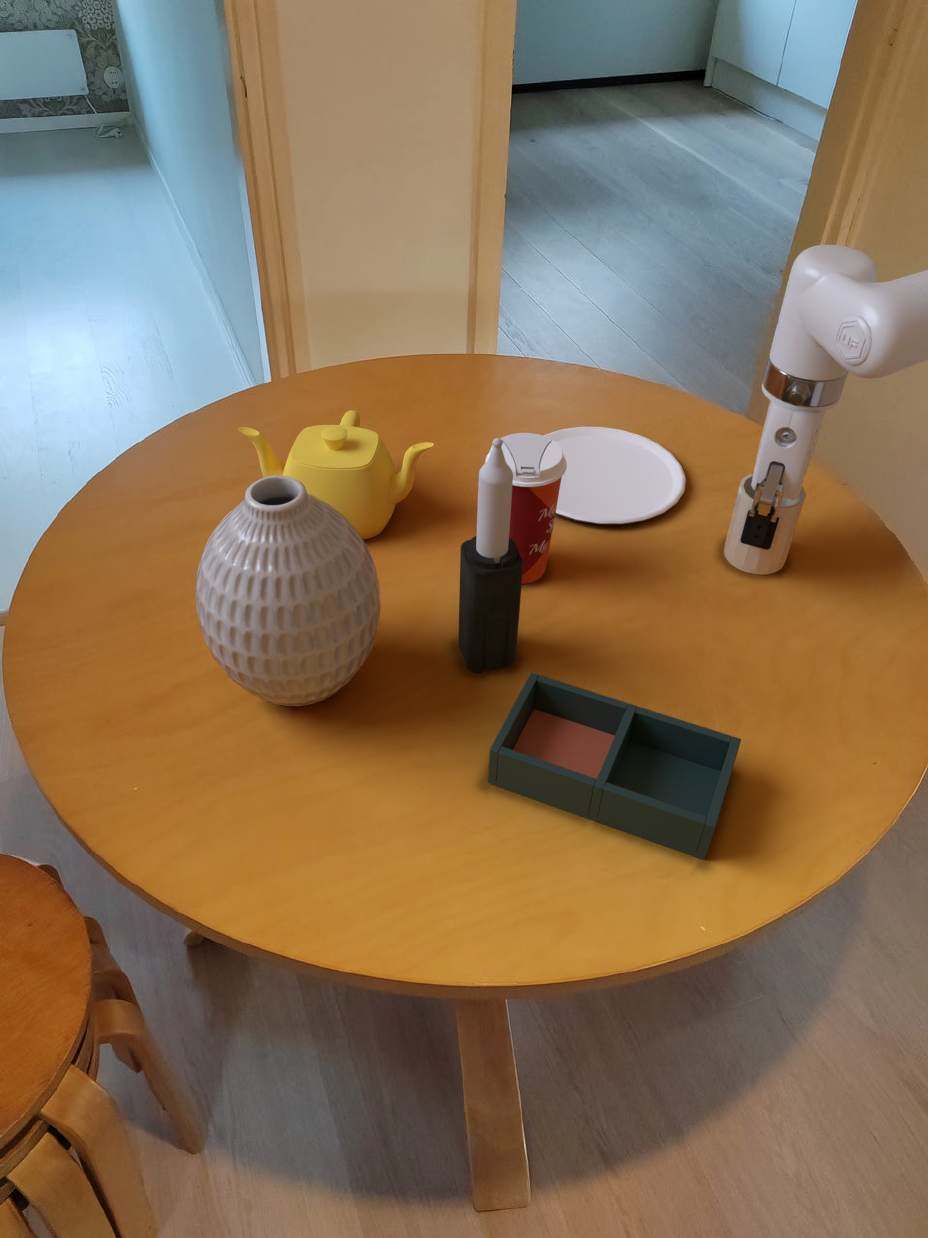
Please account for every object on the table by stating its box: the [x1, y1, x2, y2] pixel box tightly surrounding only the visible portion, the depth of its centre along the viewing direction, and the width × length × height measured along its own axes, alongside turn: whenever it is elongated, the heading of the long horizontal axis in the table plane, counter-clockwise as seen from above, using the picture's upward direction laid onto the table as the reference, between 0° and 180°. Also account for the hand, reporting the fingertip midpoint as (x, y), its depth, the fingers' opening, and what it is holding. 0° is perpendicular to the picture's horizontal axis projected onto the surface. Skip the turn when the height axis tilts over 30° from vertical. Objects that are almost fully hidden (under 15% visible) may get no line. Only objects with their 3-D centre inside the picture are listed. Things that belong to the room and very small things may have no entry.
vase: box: [194, 476, 382, 707], centre depth 88 cm, size 16×16×22 cm
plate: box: [542, 426, 687, 526], centre depth 121 cm, size 21×21×1 cm
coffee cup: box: [484, 432, 567, 585], centre depth 104 cm, size 8×8×15 cm
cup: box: [723, 472, 807, 576], centre depth 108 cm, size 7×7×9 cm
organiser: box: [487, 672, 742, 861], centre depth 86 cm, size 19×10×5 cm, turn 67°
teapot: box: [237, 409, 435, 540], centre depth 113 cm, size 22×16×11 cm
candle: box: [457, 437, 523, 674], centre depth 90 cm, size 5×5×25 cm
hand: (763, 520), depth 108 cm, fingers open, 8 cm apart
